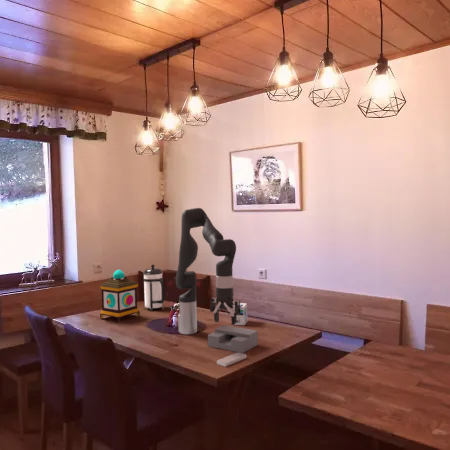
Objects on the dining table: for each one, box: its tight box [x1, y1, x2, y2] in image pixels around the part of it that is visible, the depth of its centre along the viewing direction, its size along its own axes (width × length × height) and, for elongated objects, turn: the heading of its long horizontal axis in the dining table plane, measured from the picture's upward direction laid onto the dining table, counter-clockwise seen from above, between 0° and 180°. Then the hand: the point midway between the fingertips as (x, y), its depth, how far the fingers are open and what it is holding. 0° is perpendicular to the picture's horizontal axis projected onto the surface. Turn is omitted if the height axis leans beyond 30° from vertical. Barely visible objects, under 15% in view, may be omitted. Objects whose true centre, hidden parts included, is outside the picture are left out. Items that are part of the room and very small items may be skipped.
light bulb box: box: [233, 302, 248, 326], centre depth 256 cm, size 11×7×11 cm, turn 168°
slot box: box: [207, 325, 259, 354], centre depth 216 cm, size 20×14×7 cm
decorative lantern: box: [99, 269, 140, 323], centre depth 274 cm, size 20×20×30 cm
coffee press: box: [142, 264, 166, 312], centre depth 295 cm, size 17×16×30 cm
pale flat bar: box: [216, 352, 247, 368], centre depth 195 cm, size 5×14×2 cm, turn 137°
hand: (225, 323), depth 190 cm, fingers open, 8 cm apart
